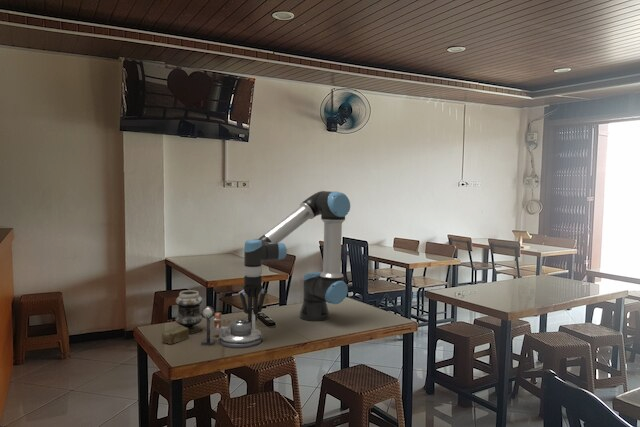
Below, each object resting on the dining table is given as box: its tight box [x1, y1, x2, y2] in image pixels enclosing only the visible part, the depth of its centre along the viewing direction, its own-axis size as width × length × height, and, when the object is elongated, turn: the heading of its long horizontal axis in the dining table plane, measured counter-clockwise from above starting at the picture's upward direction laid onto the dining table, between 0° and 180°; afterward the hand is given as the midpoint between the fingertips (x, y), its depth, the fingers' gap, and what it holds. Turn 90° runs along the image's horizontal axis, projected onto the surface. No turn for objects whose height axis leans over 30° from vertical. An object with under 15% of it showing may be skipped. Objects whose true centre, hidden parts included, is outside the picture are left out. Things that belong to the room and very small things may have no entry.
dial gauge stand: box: [200, 305, 222, 346], centre depth 207 cm, size 8×5×16 cm, turn 89°
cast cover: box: [229, 318, 251, 337], centre depth 212 cm, size 9×9×6 cm
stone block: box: [161, 325, 190, 345], centre depth 211 cm, size 6×12×5 cm, turn 152°
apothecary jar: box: [174, 289, 203, 335], centre depth 223 cm, size 12×12×18 cm
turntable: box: [212, 312, 262, 343], centre depth 212 cm, size 18×22×9 cm
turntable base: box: [217, 334, 263, 349], centre depth 212 cm, size 19×19×2 cm
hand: (252, 328), depth 214 cm, fingers closed
